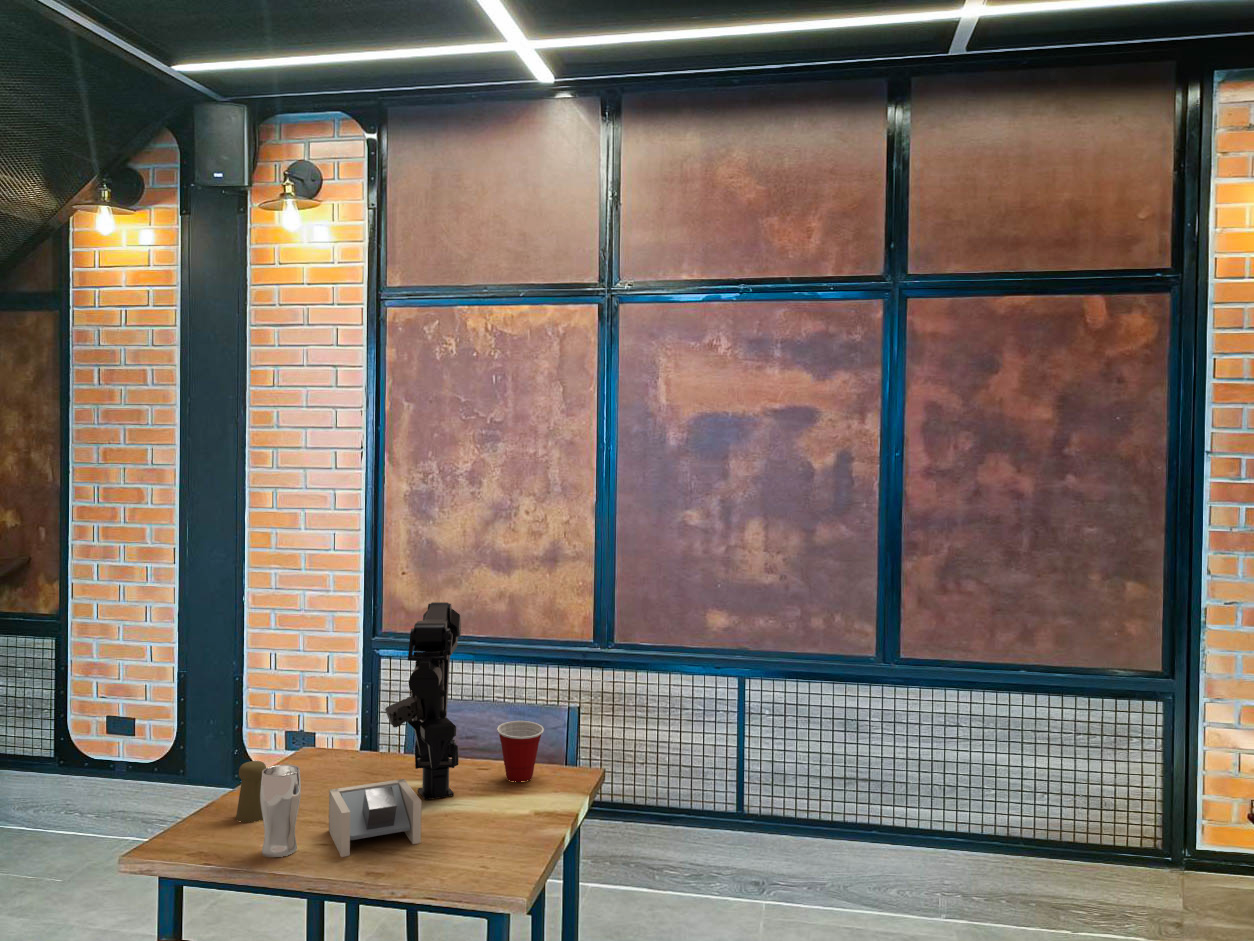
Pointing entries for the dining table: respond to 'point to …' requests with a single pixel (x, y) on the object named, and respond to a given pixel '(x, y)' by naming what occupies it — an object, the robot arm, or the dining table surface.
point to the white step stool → (341, 814)
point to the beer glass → (280, 809)
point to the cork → (250, 792)
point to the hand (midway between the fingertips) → (428, 761)
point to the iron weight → (379, 807)
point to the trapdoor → (357, 818)
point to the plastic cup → (519, 748)
